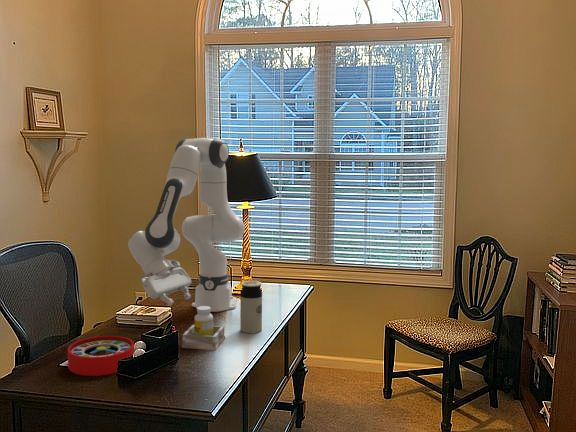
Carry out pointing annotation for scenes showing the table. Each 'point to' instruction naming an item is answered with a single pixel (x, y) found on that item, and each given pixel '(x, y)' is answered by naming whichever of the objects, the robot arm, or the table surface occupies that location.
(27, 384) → the table surface
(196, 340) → the grey square tray
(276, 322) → the table surface
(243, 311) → the travel mug
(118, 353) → the toy clock
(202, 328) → the pill bottle
